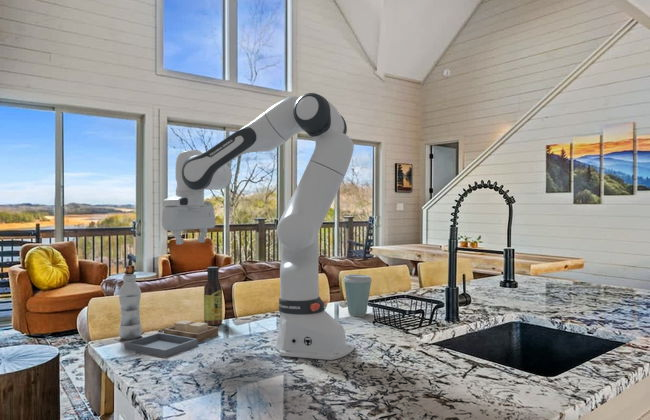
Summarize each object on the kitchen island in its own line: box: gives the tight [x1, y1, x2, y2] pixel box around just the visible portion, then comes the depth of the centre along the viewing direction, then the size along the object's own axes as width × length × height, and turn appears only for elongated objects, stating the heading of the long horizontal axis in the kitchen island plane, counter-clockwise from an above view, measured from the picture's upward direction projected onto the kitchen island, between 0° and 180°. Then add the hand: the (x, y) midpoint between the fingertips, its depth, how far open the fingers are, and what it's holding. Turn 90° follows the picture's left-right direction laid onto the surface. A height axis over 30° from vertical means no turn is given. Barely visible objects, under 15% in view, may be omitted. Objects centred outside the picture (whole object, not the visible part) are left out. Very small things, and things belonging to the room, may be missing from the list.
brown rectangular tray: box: [163, 325, 219, 343], centre depth 143 cm, size 14×9×3 cm, turn 61°
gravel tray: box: [124, 332, 199, 358], centre depth 131 cm, size 16×12×2 cm
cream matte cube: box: [189, 321, 209, 334], centre depth 141 cm, size 4×4×4 cm
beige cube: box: [174, 319, 194, 332], centre depth 144 cm, size 4×4×4 cm
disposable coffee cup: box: [343, 273, 372, 317], centre depth 171 cm, size 11×11×15 cm
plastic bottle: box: [118, 273, 143, 341], centre depth 142 cm, size 6×7×20 cm
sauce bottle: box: [203, 266, 223, 327], centre depth 160 cm, size 6×6×20 cm
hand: (190, 243), depth 149 cm, fingers open, 8 cm apart
